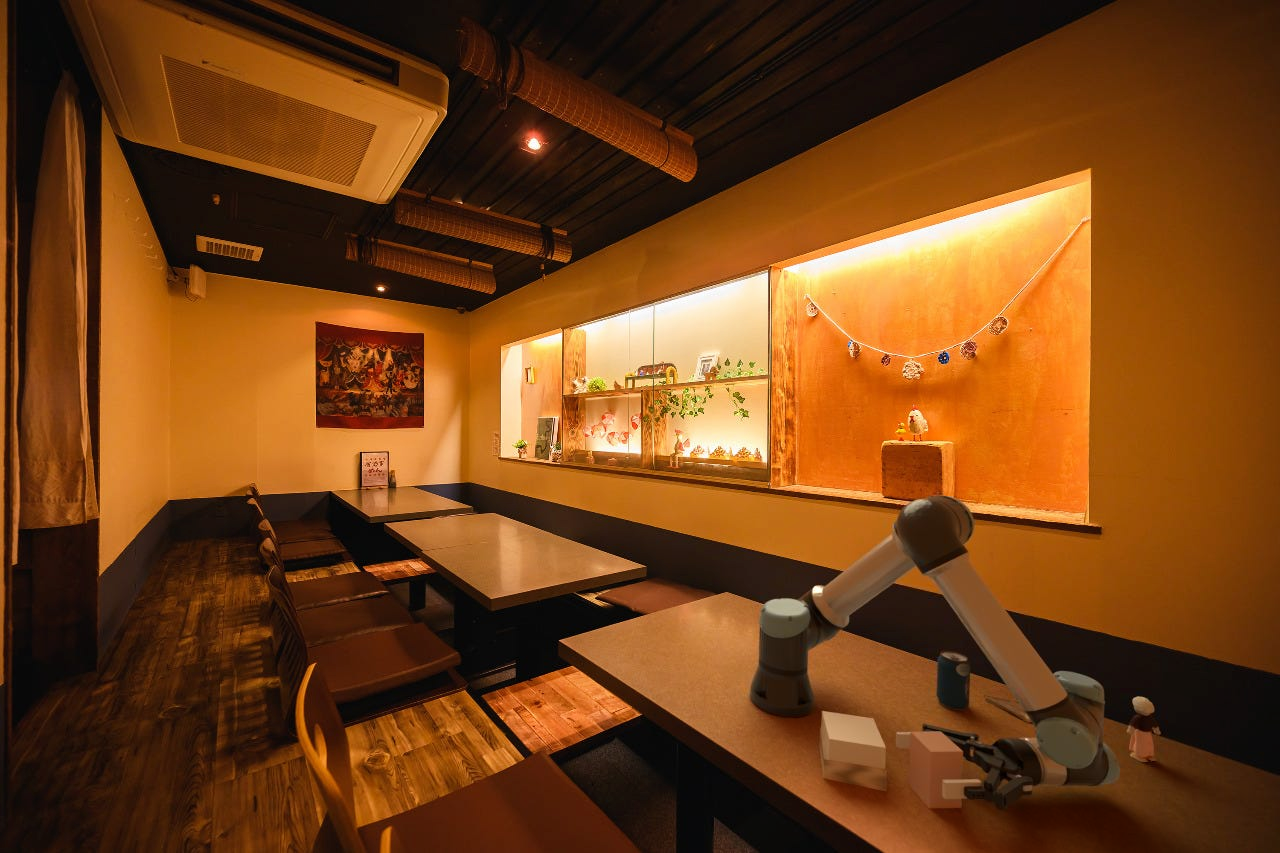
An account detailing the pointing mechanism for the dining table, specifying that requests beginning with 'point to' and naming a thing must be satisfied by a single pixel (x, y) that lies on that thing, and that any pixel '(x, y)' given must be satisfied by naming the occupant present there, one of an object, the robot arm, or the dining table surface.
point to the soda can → (953, 680)
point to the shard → (1009, 707)
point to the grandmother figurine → (1142, 730)
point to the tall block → (934, 767)
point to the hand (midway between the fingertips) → (918, 762)
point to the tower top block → (853, 740)
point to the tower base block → (852, 771)
